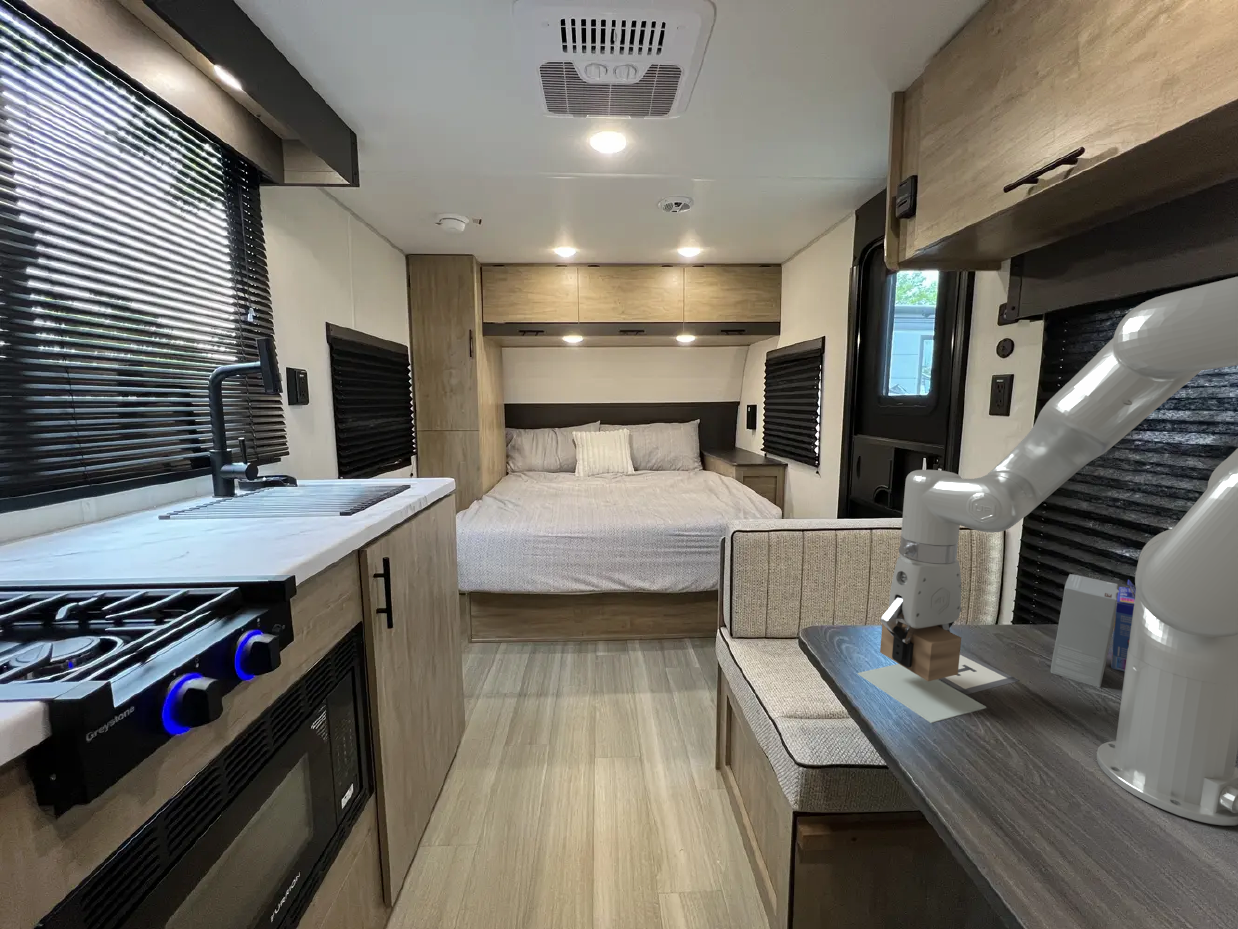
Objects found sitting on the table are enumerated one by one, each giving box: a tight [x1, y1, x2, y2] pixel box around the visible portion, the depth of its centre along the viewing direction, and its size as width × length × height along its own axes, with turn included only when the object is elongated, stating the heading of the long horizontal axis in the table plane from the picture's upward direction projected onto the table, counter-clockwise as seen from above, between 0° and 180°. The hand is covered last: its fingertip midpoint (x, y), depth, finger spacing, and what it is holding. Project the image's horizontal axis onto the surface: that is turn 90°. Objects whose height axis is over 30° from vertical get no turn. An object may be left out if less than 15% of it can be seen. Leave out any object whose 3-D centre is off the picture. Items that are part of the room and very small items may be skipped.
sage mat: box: [857, 663, 987, 724], centre depth 82 cm, size 14×11×1 cm
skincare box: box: [1050, 573, 1119, 688], centre depth 85 cm, size 8×7×16 cm
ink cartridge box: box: [1110, 579, 1136, 673], centre depth 88 cm, size 10×6×14 cm, turn 135°
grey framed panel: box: [939, 650, 1020, 696], centre depth 89 cm, size 15×12×1 cm
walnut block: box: [879, 622, 962, 681], centre depth 81 cm, size 9×6×6 cm, turn 19°
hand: (918, 658), depth 81 cm, fingers closed on walnut block, 6 cm apart
